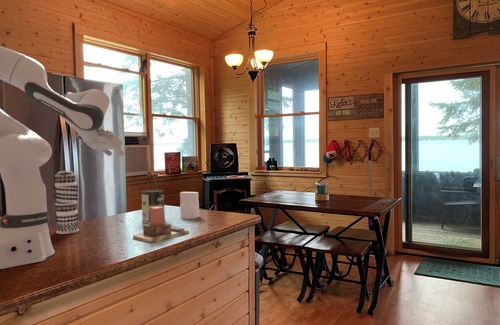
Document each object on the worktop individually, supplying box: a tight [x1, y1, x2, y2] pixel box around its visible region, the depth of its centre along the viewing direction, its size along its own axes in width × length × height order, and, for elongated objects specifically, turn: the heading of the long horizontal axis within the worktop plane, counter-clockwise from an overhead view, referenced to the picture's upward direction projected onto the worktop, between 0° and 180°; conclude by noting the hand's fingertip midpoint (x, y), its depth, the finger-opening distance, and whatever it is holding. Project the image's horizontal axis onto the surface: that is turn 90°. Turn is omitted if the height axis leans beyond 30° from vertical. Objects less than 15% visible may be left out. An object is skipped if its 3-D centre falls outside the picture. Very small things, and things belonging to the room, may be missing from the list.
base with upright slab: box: [179, 191, 200, 220], centre depth 181 cm, size 9×9×12 cm
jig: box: [132, 222, 190, 244], centre depth 143 cm, size 18×11×5 cm, turn 141°
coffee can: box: [140, 189, 166, 224], centre depth 173 cm, size 10×10×14 cm
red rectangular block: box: [149, 206, 165, 227], centre depth 142 cm, size 4×4×10 cm
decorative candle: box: [52, 170, 80, 235], centre depth 154 cm, size 9×9×25 cm
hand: (116, 154), depth 151 cm, fingers open, 8 cm apart
